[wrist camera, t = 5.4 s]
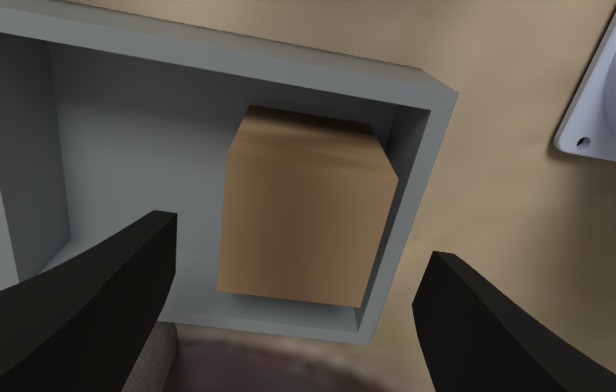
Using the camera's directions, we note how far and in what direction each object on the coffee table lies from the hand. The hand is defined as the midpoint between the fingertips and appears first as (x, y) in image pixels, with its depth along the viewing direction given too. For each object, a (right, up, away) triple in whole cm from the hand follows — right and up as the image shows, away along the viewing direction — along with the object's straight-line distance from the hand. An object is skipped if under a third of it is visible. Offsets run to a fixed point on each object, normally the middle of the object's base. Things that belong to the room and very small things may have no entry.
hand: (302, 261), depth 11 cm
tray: (-3, +3, +5) cm, 7 cm away
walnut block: (0, +3, +5) cm, 5 cm away
